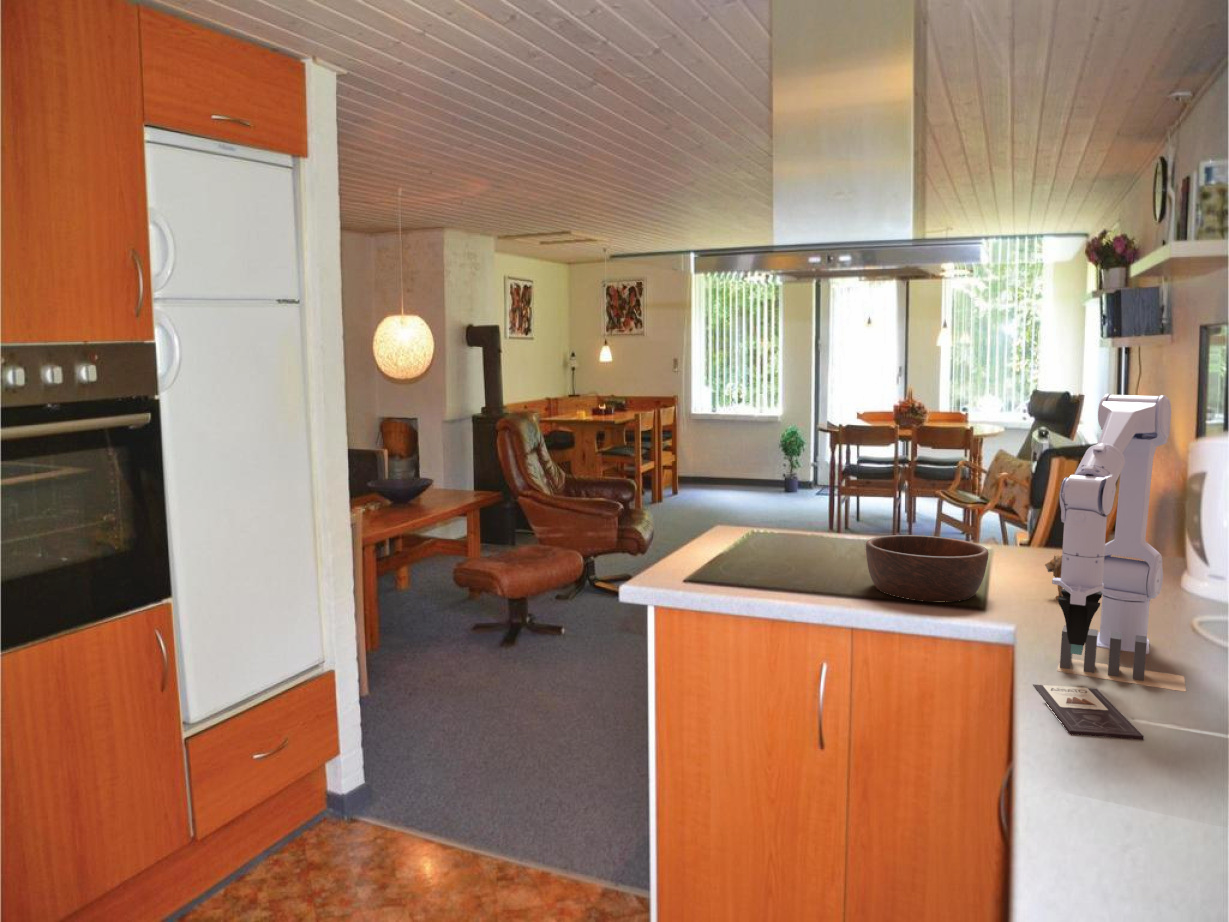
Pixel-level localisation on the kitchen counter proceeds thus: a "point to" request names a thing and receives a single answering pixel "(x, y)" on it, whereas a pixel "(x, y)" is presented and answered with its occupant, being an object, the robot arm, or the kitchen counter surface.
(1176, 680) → the cork strip
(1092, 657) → the domino
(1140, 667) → the domino
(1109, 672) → the domino
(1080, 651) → the domino
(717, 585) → the kitchen counter surface
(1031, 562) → the kitchen counter surface
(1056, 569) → the lion figurine
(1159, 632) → the kitchen counter surface
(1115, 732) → the chocolate bar
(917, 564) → the wooden bowl
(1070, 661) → the domino
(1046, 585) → the kitchen counter surface
